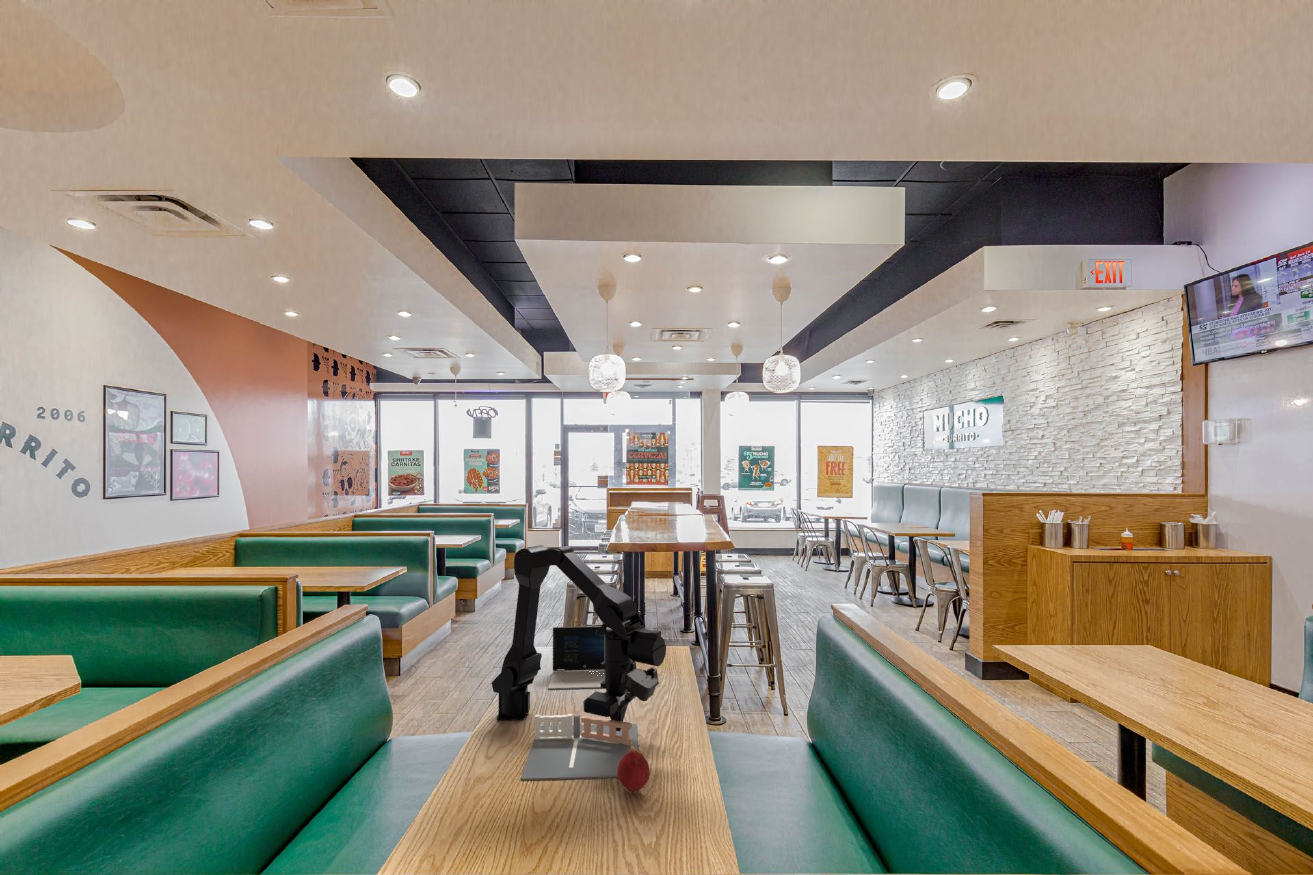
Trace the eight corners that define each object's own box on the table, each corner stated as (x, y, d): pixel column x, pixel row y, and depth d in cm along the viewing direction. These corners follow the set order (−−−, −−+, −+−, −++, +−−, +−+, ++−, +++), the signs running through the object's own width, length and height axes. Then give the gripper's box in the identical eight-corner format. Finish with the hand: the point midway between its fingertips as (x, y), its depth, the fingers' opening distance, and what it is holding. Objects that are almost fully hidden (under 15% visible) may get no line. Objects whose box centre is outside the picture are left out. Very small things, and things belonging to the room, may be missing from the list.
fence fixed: (534, 739, 126) (535, 716, 126) (535, 737, 127) (535, 714, 127) (571, 738, 126) (571, 715, 127) (572, 736, 127) (572, 713, 128)
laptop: (547, 691, 154) (547, 640, 155) (552, 673, 167) (552, 626, 167) (617, 689, 155) (617, 638, 156) (616, 672, 168) (616, 625, 168)
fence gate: (572, 737, 127) (572, 716, 127) (575, 734, 128) (575, 713, 128) (630, 746, 122) (630, 725, 123) (632, 743, 124) (632, 722, 124)
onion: (654, 786, 108) (654, 742, 109) (643, 804, 103) (643, 757, 103) (624, 781, 110) (624, 737, 110) (612, 797, 105) (612, 751, 105)
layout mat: (520, 780, 111) (520, 778, 111) (538, 727, 132) (538, 725, 133) (638, 777, 112) (638, 775, 112) (637, 725, 134) (637, 723, 134)
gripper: (630, 679, 114) (631, 760, 114) (670, 648, 131) (670, 718, 131) (581, 670, 119) (582, 748, 119) (625, 641, 136) (626, 709, 136)
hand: (618, 730), depth 126 cm, fingers closed
